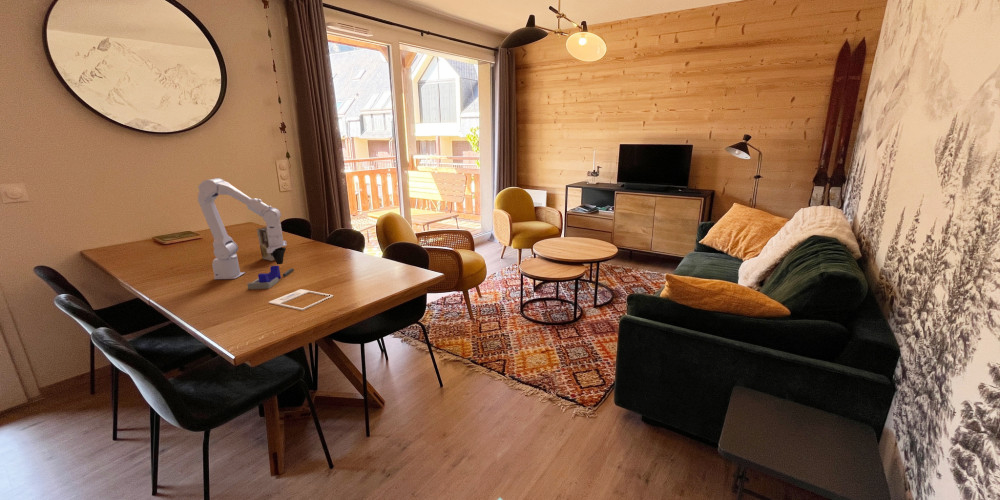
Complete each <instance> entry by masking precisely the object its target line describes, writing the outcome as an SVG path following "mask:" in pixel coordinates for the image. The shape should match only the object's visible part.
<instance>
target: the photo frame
mask: <svg viewBox="0 0 1000 500" xmlns="http://www.w3.org/2000/svg"><path fill="white" fill-rule="evenodd" d="M308 293H309V294H315V295H318V296H319V295H320V296H324V295H325V298H322V299H320V300H318V301H316V302H313V303H311V304H309V305H306V306H305V307H303V308H302V307H297V306H293V305H288V304H285V303H287V302H290V301H292V300H294V299H296V298H299V297H302V296H304V295H306V294H308ZM329 295H330V296H329ZM333 296H334V294H328V293H325V292H323V293H322V292H318V291H314V290H313V291H312V290H308V289H302V288H300V289H297V290H295V291H293V292H291V293H287V294H284V295H283V296H280V297H278V298H275V299H272V300H270V301H268V304H272V305H275V306H280V307H283V308H289V309H294V310H298V311H301V312H303V311H305V310H308V309H309V308H311V307H314V306H315V305H316V306H317V305H318V304H320V303H322V301H323V302H325V301H326V299H327V300H329V299H331V298H333ZM328 298H329V299H328ZM324 300H325V301H324Z"/></svg>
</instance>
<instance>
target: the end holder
mask: <svg viewBox="0 0 1000 500" xmlns="http://www.w3.org/2000/svg"><path fill="white" fill-rule="evenodd" d="M279 282H280V279H279V278H275V279H273V280H272V281H270V282H259V277H258V278H256V279H255V280H253V281H252V282H247V284H246V285H247V289H248V290H265V289H266V290H269V289H270V288H272V287H274V286H275V285H276V284H278V283H279Z"/></svg>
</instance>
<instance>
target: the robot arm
mask: <svg viewBox="0 0 1000 500" xmlns="http://www.w3.org/2000/svg"><path fill="white" fill-rule="evenodd" d="M197 188H198V196H197V202H198V204H199V207H200V210H201V211H202V214H203V217H204V218H205V221H206V223H207V225H208V226H207V227H208V228H209V230H210V233H211V236H212V237H213V243H212V246H213V255H214V256H215V257H214V259H213V260H212V264H211V266H212V270H213V280H235V279H237V278H239V277H241V276H242V275H244V274H245V273H246V272H245V271H243V272H241V269H240V264H239V259H238V254H237V253H238V250H239V246H238V244H237V243H236V242H235V241H234V239H233V237H231V236H230V235H229V234H228V232H227V229H226V227H225V224H224V222H223V220H222V218H221V215H220V213H219V210H218V208H217V206H216V203H215V201H216V199H217V198H218V197H219V195H221V196H223V195H224V196H225V195H228V196H229V197H231V198H233V199H236V200H237V201H239V202H241V203H242V204H244V205H246V207H247V210H249V211H251V212H253V213H255V214H256V215H257V216H259V217H262V219H263V221H264V222H265V225H266V227H267V232H268V238H269V244H270V245H269V247H268V248H267V253H271V254H272V256H273V257H274V259H275V260H274V261H275V263H276V265H282V264H283V263H284V257H285V252H286V248H287V244H288V243H287V240H284V236H283V229H282V224H281V217H282V213H281V210H279V209H278V208H277V207H273V206H272V205H268V204H266V203H265V202H263V200H262V199H261V198H256V197H255V198H251V197H250V196H248V195H247V194H245V193H244V192H242V191H241V190H240V189H238V188H236V187H235V186H234V185H232V184H231V183H230V182H228V181H227V180H226V181H225V180H224V179H222V178H220V177H215V178H211V179H210V178H209V179H204V180H203V181H201V183H200V184H199V185H198V186H197Z"/></svg>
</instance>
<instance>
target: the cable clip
mask: <svg viewBox="0 0 1000 500" xmlns="http://www.w3.org/2000/svg"><path fill="white" fill-rule="evenodd" d="M269 269H270V270H269V271H270V272H268V273H264V272H263V273H258V274H257V275H258V276H257V277H258V278H259V282H270V281H272V280H273V279H275V278H279V280H280V279H281V278H282V277H281V272H280V265H271V266H270V267H269Z"/></svg>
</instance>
